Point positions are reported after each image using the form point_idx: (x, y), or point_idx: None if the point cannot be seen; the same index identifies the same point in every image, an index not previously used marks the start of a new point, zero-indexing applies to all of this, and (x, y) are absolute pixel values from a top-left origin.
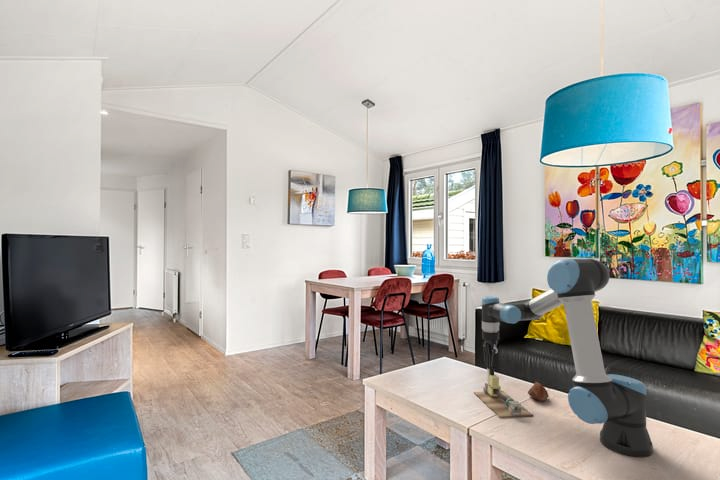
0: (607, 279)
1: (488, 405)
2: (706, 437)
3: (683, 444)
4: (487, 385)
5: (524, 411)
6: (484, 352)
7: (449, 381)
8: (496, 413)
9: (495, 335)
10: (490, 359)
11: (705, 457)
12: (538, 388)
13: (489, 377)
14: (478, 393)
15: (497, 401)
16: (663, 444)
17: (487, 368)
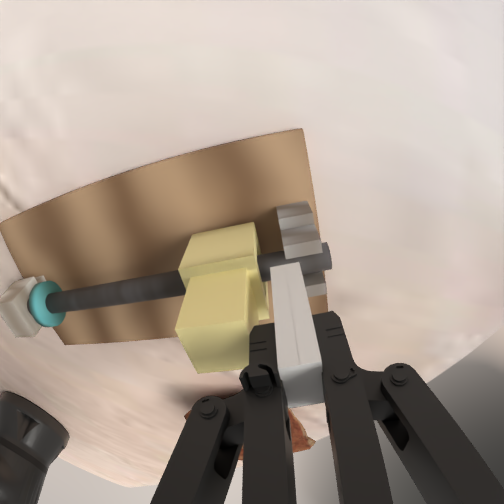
0: None
1: (81, 191)
2: (128, 486)
3: (88, 465)
4: (284, 247)
5: (78, 330)
6: (469, 498)
7: (490, 43)
8: (15, 216)
9: None
10: (245, 500)
11: (63, 458)
12: None
13: (242, 305)
14: (274, 158)
15: (151, 252)
16: (73, 452)
17: (311, 356)
